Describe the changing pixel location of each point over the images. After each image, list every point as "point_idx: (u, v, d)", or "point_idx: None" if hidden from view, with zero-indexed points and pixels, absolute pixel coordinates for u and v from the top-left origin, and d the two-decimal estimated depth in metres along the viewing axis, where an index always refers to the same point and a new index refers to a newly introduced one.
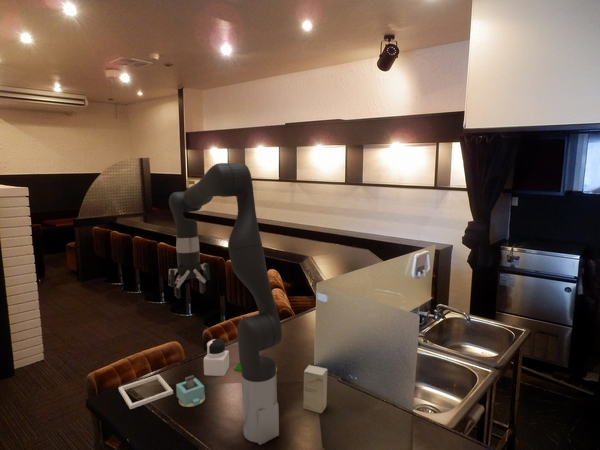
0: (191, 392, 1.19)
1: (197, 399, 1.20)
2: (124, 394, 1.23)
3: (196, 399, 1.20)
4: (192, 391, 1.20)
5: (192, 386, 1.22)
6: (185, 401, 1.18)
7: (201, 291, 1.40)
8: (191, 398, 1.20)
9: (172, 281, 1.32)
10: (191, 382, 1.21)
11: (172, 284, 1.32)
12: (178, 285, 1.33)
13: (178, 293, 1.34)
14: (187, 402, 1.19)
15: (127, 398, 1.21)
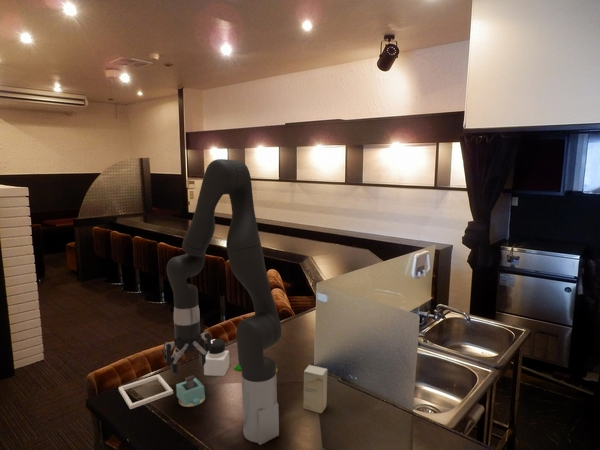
0: (191, 392, 1.19)
1: (197, 399, 1.20)
2: (124, 394, 1.23)
3: (196, 399, 1.20)
4: (192, 391, 1.20)
5: (192, 386, 1.22)
6: (185, 401, 1.18)
7: (201, 363, 1.24)
8: (191, 398, 1.20)
9: (168, 357, 1.16)
10: (191, 382, 1.21)
11: (168, 360, 1.16)
12: (175, 361, 1.17)
13: (175, 369, 1.18)
14: (187, 402, 1.19)
15: (127, 398, 1.21)
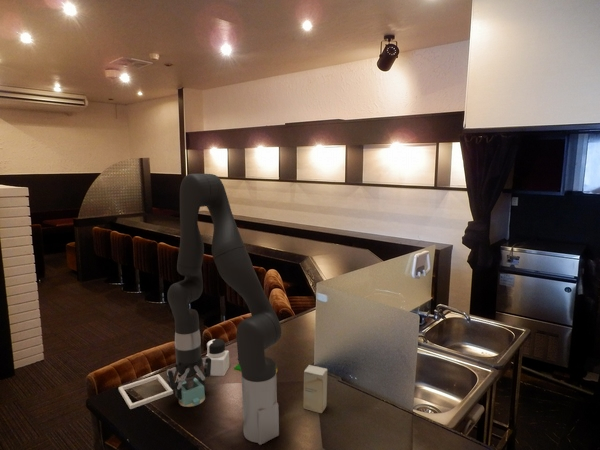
0: (191, 392, 1.19)
1: (197, 399, 1.20)
2: (124, 394, 1.23)
3: (196, 399, 1.20)
4: (192, 391, 1.20)
5: (192, 386, 1.22)
6: (185, 401, 1.18)
7: None
8: (191, 398, 1.20)
9: (172, 383, 1.17)
10: (191, 382, 1.21)
11: (172, 386, 1.17)
12: (179, 386, 1.19)
13: (179, 394, 1.19)
14: (187, 402, 1.19)
15: (127, 398, 1.21)
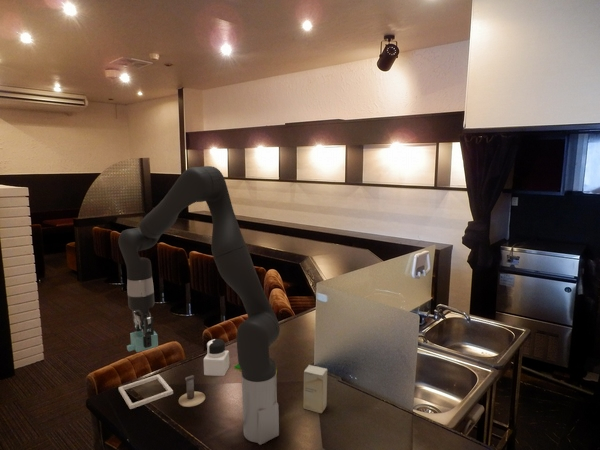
0: (132, 337, 1.23)
1: (130, 346, 1.21)
2: (124, 394, 1.23)
3: (130, 345, 1.21)
4: (132, 336, 1.22)
5: (192, 386, 1.22)
6: (131, 341, 1.24)
7: None
8: (132, 342, 1.23)
9: (133, 318, 1.27)
10: (191, 382, 1.21)
11: (133, 322, 1.27)
12: (135, 326, 1.26)
13: None
14: (131, 343, 1.24)
15: (127, 398, 1.21)
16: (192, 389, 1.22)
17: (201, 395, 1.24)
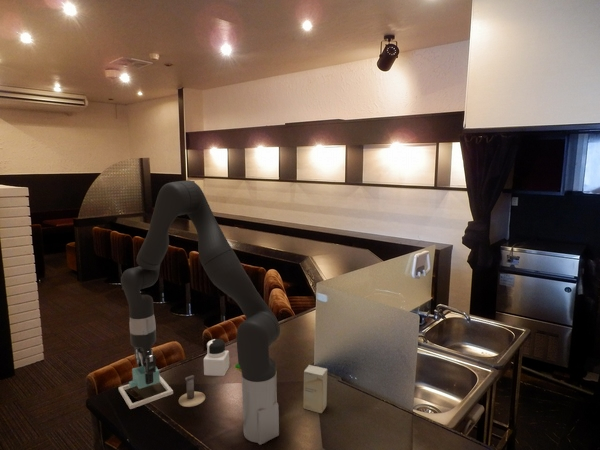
0: (134, 373, 1.24)
1: (132, 382, 1.23)
2: (124, 394, 1.23)
3: (132, 382, 1.23)
4: (134, 372, 1.24)
5: (192, 386, 1.22)
6: (133, 376, 1.26)
7: None
8: (134, 378, 1.25)
9: (135, 354, 1.29)
10: (191, 382, 1.21)
11: (135, 357, 1.29)
12: (137, 361, 1.27)
13: None
14: (133, 379, 1.26)
15: (127, 398, 1.21)
16: (192, 389, 1.22)
17: (201, 395, 1.24)
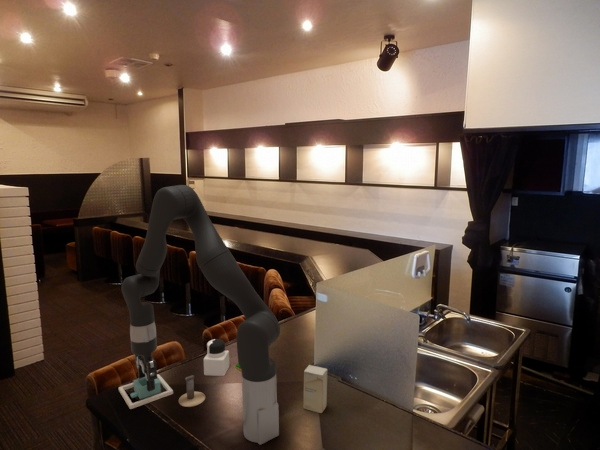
0: (135, 384, 1.25)
1: (133, 394, 1.23)
2: (124, 394, 1.23)
3: (133, 394, 1.24)
4: (135, 384, 1.25)
5: (192, 386, 1.22)
6: (134, 388, 1.27)
7: None
8: (135, 390, 1.25)
9: (135, 359, 1.29)
10: (191, 382, 1.21)
11: (135, 361, 1.30)
12: (137, 366, 1.28)
13: None
14: (134, 390, 1.26)
15: (127, 398, 1.21)
16: (192, 389, 1.22)
17: (201, 395, 1.24)
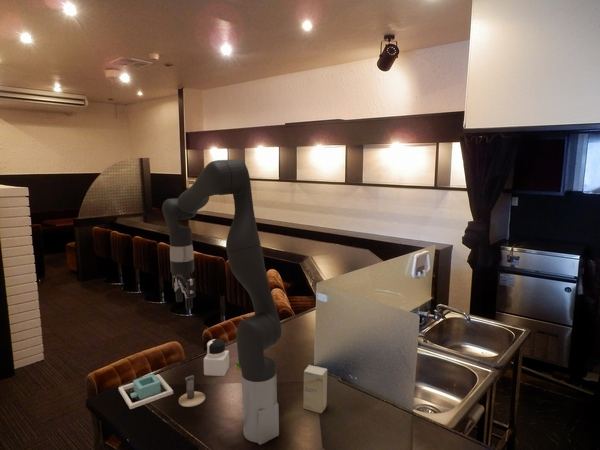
0: (135, 384, 1.25)
1: (133, 394, 1.23)
2: (124, 394, 1.23)
3: (133, 394, 1.24)
4: (135, 384, 1.25)
5: (192, 386, 1.22)
6: (134, 388, 1.27)
7: None
8: (135, 390, 1.25)
9: (172, 283, 1.37)
10: (191, 382, 1.21)
11: (172, 285, 1.37)
12: (175, 289, 1.35)
13: None
14: (134, 390, 1.26)
15: (127, 398, 1.21)
16: (192, 389, 1.22)
17: (201, 395, 1.24)
